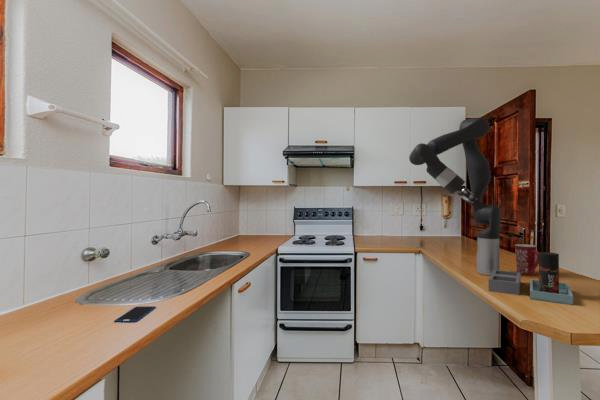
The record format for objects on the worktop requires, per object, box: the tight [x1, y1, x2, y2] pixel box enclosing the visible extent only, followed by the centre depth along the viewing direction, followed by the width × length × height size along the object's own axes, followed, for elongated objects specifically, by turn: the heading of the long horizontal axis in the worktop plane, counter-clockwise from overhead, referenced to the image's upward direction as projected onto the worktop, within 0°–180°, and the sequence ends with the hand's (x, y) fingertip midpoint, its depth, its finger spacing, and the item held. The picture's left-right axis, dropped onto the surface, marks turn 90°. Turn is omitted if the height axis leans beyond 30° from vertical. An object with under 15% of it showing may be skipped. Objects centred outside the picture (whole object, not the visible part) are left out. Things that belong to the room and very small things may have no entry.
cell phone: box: [113, 305, 157, 324], centre depth 105 cm, size 7×14×1 cm, turn 0°
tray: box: [529, 278, 574, 306], centre depth 122 cm, size 20×12×3 cm, turn 144°
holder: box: [488, 269, 522, 296], centre depth 134 cm, size 21×10×4 cm, turn 144°
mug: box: [513, 243, 539, 276], centre depth 155 cm, size 13×9×14 cm
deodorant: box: [538, 251, 560, 294], centre depth 122 cm, size 6×6×15 cm
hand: (480, 207), depth 133 cm, fingers open, 8 cm apart
